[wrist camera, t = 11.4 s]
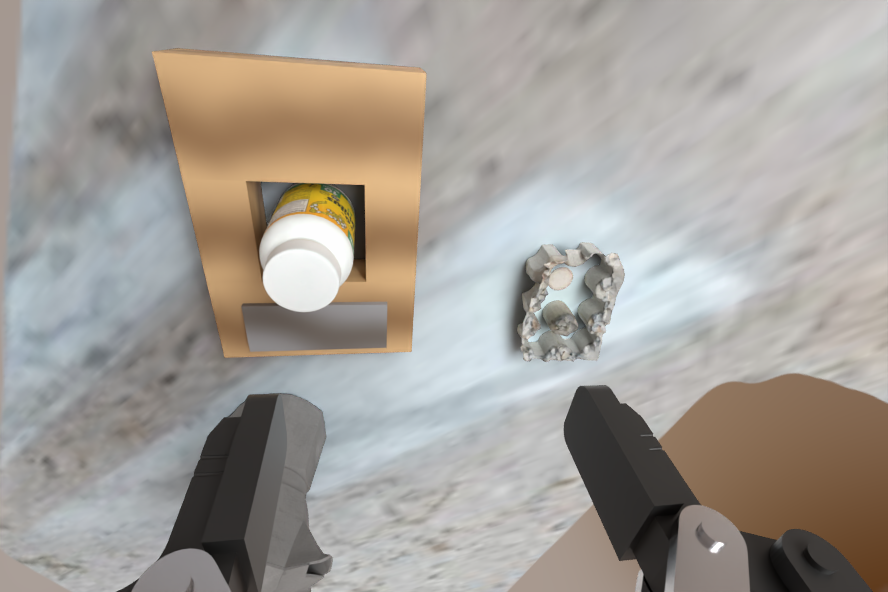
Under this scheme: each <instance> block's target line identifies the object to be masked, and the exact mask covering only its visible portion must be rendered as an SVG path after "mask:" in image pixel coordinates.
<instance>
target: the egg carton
mask: <svg viewBox="0 0 888 592" xmlns="http://www.w3.org/2000/svg"><path fill="white" fill-rule="evenodd" d="M565 252H566V256H563V255H561V254H560V253H559V252H558V250H557V249H556V248H555V247H554V245H552V244H548V245H542V246H541V248H540V249H539V251H538V253H537V254H536V255H534V256H533V257H530V258H528V259H527V262H526V274H528V275H529V276H530V278H531V279H532V280H533V281H534V282H535V284H534V286H533V287H532V288H531V289H530V290H529V291H527V292H524V293H522V300H523V301H522V303H523V308H524V310H525V311H526V316H525V319H524V321H523V323H521V324H518V327H517V333H518V334H519V335H520V336H521V338H522V346H521V351H522V352H523V357H524V358H523V359H524V360H525V361H530V360H531V359H535V358H537V359H541V360H543V361H545V362H548V361H550V360H558V361H563V360H567V361H573V362H574V360H575V359H578V358H579V359H583V360H594V361H597V360H598V358H599V353H600V348H601V344H602V335H603V334H604V333H605V332H606V329H605V326H606V325H607V324H609V323H610V320H611V313H612V310H613V307H614V305H615V300H616V296H617V294H618V291H619V289H620V287H621V285H622V283H623V281H624V276H625V273H624V269H623V266H622V264H621V261H620V259H619V256H618V254H615V253H611V254H609V255H607V256H605V255H604V254H602V252H600V251H599V249H598V248H597V247H596V246H595V245H594V244H592V243H585V242H582V243H580V245H579V247H578V248H577V250H567V249H566V250H565ZM593 254H598V255H599V256H600V257H601V258H602V259H601V262H600V264H599V265H595V266H593V267H591V268H590V269H589V270H588V271H587V273H586V274H585V278H584V280H585V283H586V285H587V286H588V287H589V288H590V290H591V291H592V292H593V297H592V298H589V299H586V300H585V301H583V302H582V303H581V304H580V305H579V307H578V311H577V312H578V315H579V316H580V318H581V319H582V321H583V322H584V324H585V325H586V327H585V328H582V329H579V330H578V331H576V330H577V328H578V323H577V321H576V319H575V317H574V315H573V314H572V312H571V311H570V310H569V308H568V307H567V305H566V304H565V303H564V302H562V301H559V300H556V301H552V302H550V303H548V304H547V305H546V306H545V308H544V309H543V313H542V314H543V317H544V319H545V321H546V323H547V324H548V326H549V328H550V330H551V331H547V332H545V333H543V334H542V335H541V336H540V337H539V339H538V341H537V342H528V339H529V338H530V337H531V336H533V335H535V333H536V331H537V330H539V329H541V324H540V323H539V322H538V320H537V318H536V316H535V314H534V313H533V312H536V311H538V310H540V309H541V305H540V304H541V303H542V302H543V301H544V300H545V297H546V295H548V292H547V290H546V287H547V286H548V285H549V286H550V287H551V288H552V289H554V290H562V289H565V288H566V287H567V286H569V285H570V283H571V281H572V279H573V273H572V272H571V270H570V269H568V268H566V267H561V268H558V269H556V270H554V271H553V272H552V273H551V274H550V272H551V269H552V268H553V267H554V266H556V265H558V264H562V263H565V264H566V265H568V266H572V267H576V266H579V265H581V264H583V263H584V262H586V261H587V260H588V259H589V257H592V255H593ZM574 331H576V332H575V333H574V334H573V336H572V337H571V338H570V339H563V338H562V337H561V335H563V336H568V335H569V334H570V333H572V332H574Z"/></svg>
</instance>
